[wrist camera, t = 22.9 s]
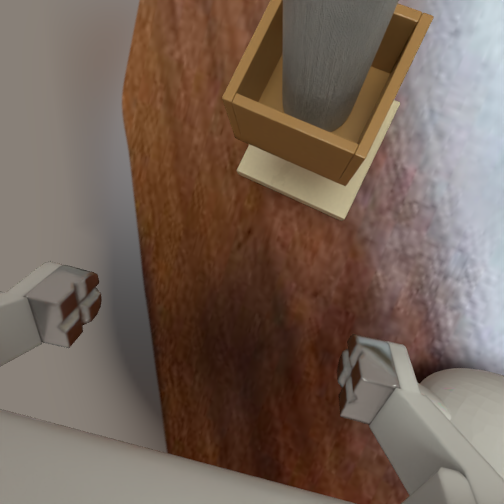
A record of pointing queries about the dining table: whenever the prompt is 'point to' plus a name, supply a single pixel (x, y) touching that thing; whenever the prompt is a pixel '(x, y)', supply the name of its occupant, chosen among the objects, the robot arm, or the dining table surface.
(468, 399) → the decorative item
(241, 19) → the dining table surface
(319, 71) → the grey tumbler
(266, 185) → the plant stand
